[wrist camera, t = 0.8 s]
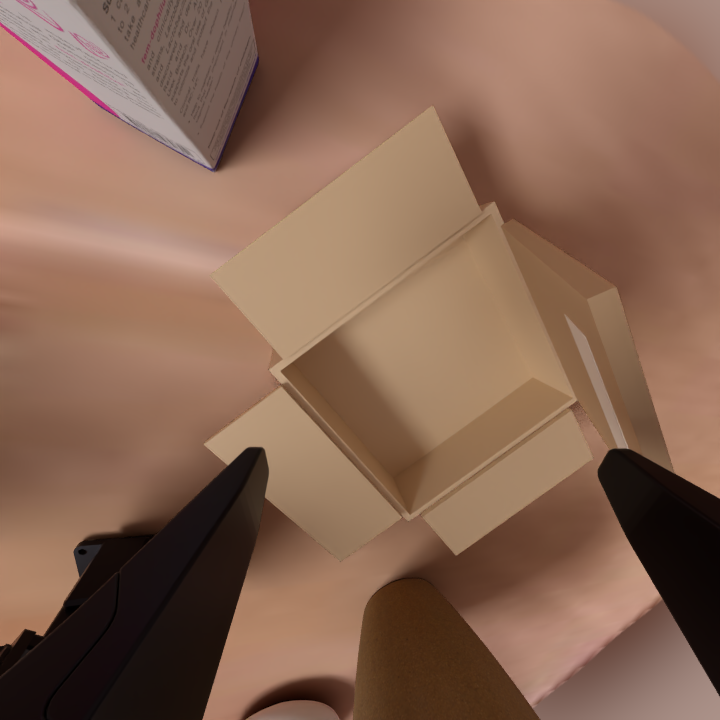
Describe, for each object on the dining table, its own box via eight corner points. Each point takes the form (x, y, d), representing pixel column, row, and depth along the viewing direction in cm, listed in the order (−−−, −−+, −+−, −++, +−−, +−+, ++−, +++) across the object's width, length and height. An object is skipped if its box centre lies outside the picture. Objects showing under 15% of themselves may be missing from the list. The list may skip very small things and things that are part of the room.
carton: (374, 550, 27) (388, 603, 23) (145, 334, 18) (101, 357, 14) (557, 419, 26) (605, 449, 22) (414, 128, 17) (451, 90, 13)
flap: (575, 397, 20) (679, 558, 12) (499, 226, 15) (585, 299, 7) (587, 394, 19) (701, 556, 12) (513, 218, 15) (617, 286, 7)
